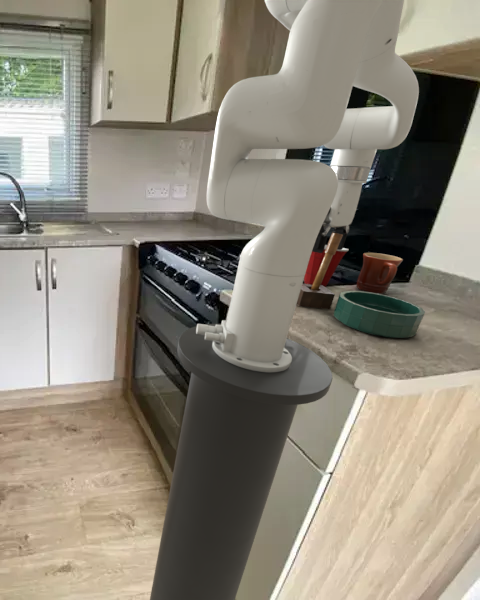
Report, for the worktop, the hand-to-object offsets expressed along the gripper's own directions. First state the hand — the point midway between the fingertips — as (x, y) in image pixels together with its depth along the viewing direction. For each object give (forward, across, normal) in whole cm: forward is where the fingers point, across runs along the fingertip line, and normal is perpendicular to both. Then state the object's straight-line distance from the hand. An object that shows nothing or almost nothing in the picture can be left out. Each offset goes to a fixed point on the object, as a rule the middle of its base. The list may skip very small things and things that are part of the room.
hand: (325, 250), depth 86 cm
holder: (+14, 0, 0) cm, 14 cm away
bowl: (+14, +1, +14) cm, 20 cm away
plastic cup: (+14, -19, -8) cm, 25 cm away
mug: (+14, -27, +4) cm, 31 cm away
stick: (+14, 0, 0) cm, 14 cm away
